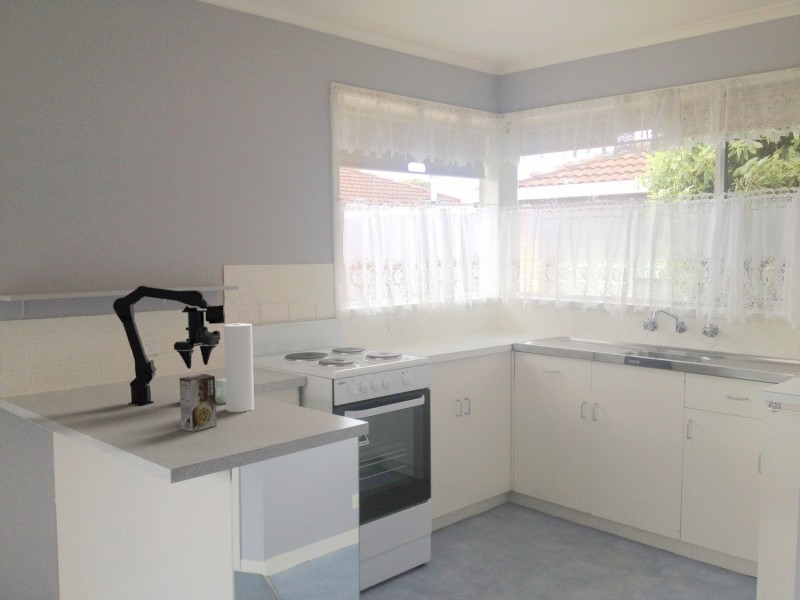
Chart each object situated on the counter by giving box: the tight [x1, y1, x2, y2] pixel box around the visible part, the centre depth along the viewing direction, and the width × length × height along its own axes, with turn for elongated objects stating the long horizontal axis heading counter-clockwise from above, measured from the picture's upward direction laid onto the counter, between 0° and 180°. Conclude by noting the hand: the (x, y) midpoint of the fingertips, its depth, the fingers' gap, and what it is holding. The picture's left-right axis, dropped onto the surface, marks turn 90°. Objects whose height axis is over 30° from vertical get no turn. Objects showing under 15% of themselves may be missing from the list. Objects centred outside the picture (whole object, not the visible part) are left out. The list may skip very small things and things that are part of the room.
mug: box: [215, 378, 226, 405], centre depth 265 cm, size 9×7×8 cm
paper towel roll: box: [223, 322, 255, 413], centre depth 252 cm, size 9×9×30 cm
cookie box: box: [179, 373, 218, 433], centre depth 226 cm, size 9×6×16 cm
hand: (197, 366), depth 267 cm, fingers open, 9 cm apart
